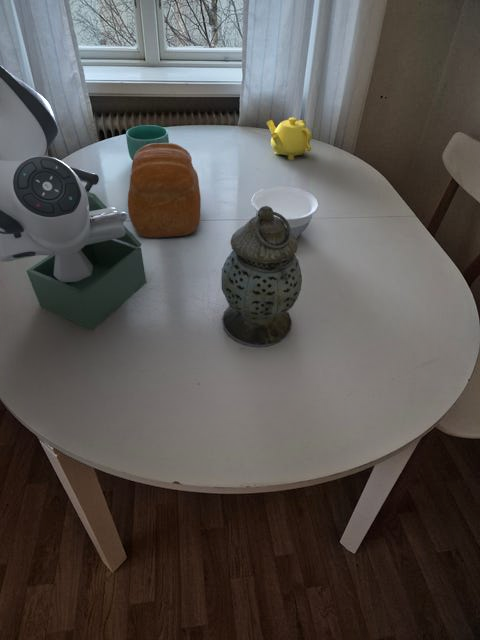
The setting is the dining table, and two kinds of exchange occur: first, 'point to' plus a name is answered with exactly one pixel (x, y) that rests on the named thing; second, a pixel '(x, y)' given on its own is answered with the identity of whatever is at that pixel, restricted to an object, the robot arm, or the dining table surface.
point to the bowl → (288, 205)
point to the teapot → (290, 137)
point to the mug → (145, 137)
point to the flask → (72, 267)
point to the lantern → (261, 280)
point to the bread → (163, 191)
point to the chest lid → (97, 203)
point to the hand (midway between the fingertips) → (66, 245)
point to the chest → (91, 283)
